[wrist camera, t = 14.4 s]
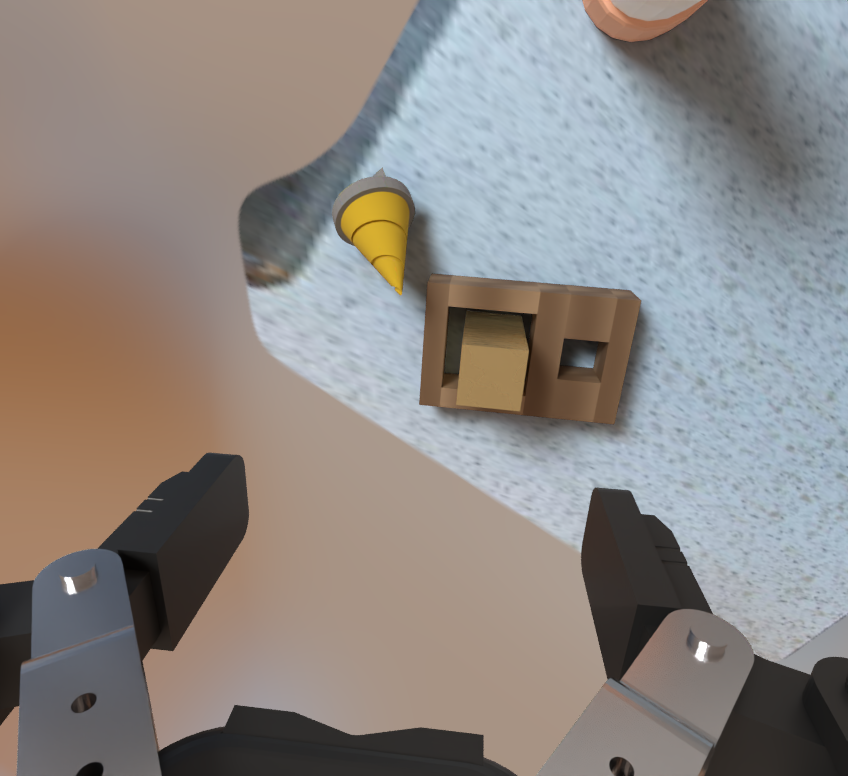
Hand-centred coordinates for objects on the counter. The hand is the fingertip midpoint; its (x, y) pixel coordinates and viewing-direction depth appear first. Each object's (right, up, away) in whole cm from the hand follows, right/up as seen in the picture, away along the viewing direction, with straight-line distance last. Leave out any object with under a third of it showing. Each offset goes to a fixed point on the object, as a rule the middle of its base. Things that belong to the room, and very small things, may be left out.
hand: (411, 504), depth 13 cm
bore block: (+8, +6, +29) cm, 30 cm away
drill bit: (-2, +14, +27) cm, 30 cm away
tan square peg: (+5, +6, +29) cm, 30 cm away
